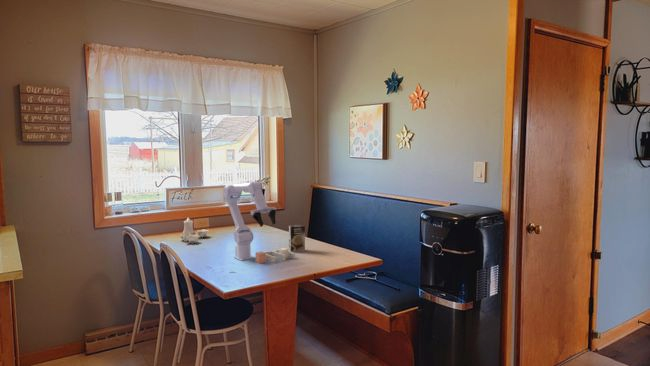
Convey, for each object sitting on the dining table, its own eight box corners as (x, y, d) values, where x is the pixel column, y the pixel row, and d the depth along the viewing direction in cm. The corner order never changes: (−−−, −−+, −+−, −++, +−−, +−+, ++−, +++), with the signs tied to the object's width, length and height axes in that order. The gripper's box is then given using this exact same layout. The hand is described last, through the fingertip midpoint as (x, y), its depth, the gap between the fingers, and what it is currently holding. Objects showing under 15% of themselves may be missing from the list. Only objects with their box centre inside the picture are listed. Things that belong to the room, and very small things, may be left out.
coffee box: (290, 253, 265) (290, 226, 263) (288, 250, 271) (288, 225, 269) (305, 252, 267) (305, 226, 266) (303, 249, 273) (302, 224, 272)
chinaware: (198, 247, 289) (199, 222, 287) (173, 244, 289) (174, 220, 288) (210, 238, 317) (211, 215, 315) (187, 236, 317) (188, 213, 315)
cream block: (279, 257, 253) (278, 248, 252) (284, 256, 255) (284, 247, 255) (282, 258, 249) (282, 250, 249) (288, 257, 252) (288, 249, 251)
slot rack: (259, 258, 252) (259, 252, 252) (281, 254, 261) (281, 248, 261) (274, 264, 240) (274, 258, 239) (297, 259, 249) (297, 253, 249)
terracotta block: (255, 263, 243) (255, 252, 242) (261, 261, 245) (261, 251, 245) (259, 264, 240) (259, 253, 239) (265, 263, 242) (265, 252, 242)
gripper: (251, 200, 229) (259, 223, 225) (274, 197, 238) (283, 219, 234) (246, 206, 234) (254, 229, 230) (269, 203, 243) (277, 225, 239)
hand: (268, 224), depth 232 cm, fingers open, 7 cm apart
